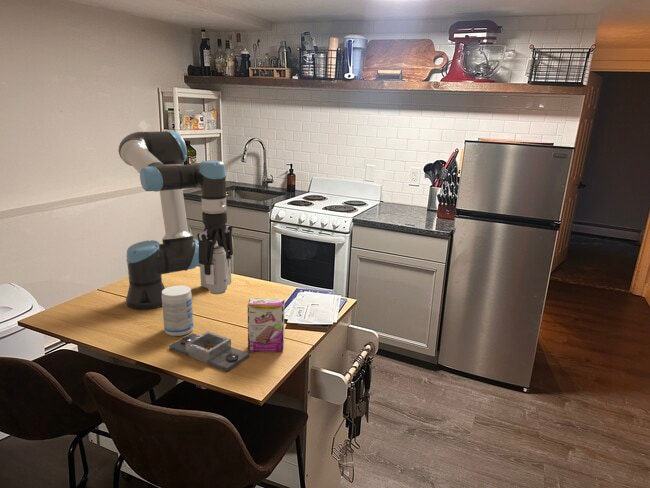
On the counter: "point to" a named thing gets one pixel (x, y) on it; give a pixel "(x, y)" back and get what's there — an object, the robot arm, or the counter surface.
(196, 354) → the grey base plate
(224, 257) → the energy drink can
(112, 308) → the counter surface
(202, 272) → the soap bottle
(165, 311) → the supplement tub
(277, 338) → the candy bar box
